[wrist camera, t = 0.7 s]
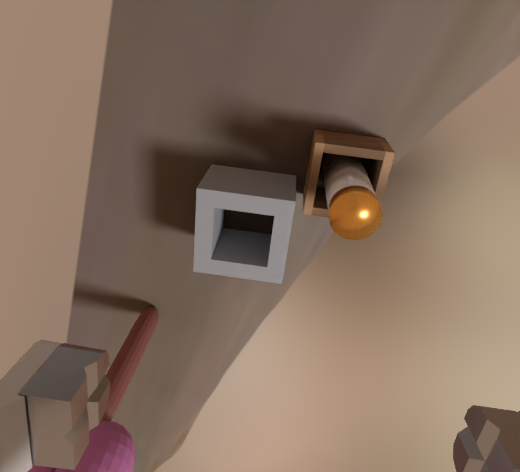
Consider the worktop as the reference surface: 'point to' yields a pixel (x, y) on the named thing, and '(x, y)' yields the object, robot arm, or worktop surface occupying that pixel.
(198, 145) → the worktop surface
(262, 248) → the socket
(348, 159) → the pin
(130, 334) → the lollipop
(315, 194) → the mount
